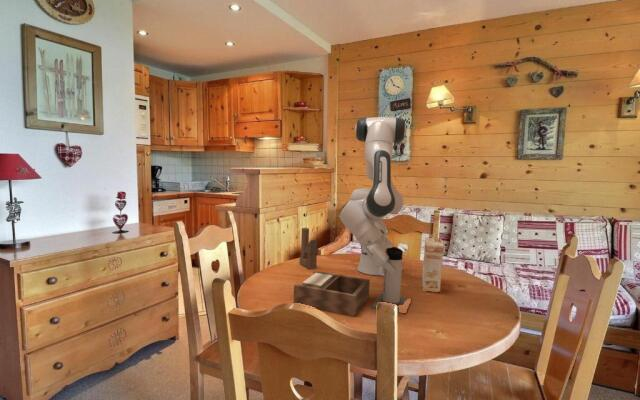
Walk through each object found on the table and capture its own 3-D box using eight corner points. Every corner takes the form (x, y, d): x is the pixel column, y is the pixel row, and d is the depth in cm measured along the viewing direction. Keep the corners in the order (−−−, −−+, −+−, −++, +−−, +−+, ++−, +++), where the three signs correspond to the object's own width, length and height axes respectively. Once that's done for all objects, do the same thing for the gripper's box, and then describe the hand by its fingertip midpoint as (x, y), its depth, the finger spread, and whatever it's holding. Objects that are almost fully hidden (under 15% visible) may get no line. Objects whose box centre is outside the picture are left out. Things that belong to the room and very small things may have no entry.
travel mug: (400, 300, 134) (403, 247, 132) (399, 306, 128) (402, 251, 125) (383, 297, 136) (386, 246, 133) (381, 304, 129) (384, 250, 127)
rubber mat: (380, 294, 140) (380, 293, 140) (411, 300, 136) (412, 298, 136) (371, 307, 127) (371, 306, 127) (406, 314, 123) (406, 312, 123)
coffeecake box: (440, 293, 144) (444, 246, 141) (422, 291, 145) (425, 244, 143) (438, 281, 158) (442, 238, 156) (421, 279, 160) (425, 237, 158)
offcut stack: (301, 302, 130) (301, 282, 129) (314, 290, 142) (315, 272, 142) (320, 306, 128) (321, 286, 127) (332, 294, 140) (333, 275, 139)
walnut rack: (293, 304, 128) (294, 285, 127) (314, 287, 146) (314, 270, 145) (354, 316, 120) (355, 296, 119) (368, 297, 137) (369, 279, 136)
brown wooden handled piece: (309, 269, 169) (311, 232, 167) (299, 263, 178) (300, 227, 176) (316, 268, 171) (317, 231, 169) (305, 262, 180) (306, 227, 178)
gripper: (370, 239, 122) (397, 271, 119) (383, 229, 140) (407, 257, 138) (357, 250, 124) (383, 282, 121) (371, 239, 143) (395, 266, 140)
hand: (396, 268), depth 130 cm, fingers open, 8 cm apart
